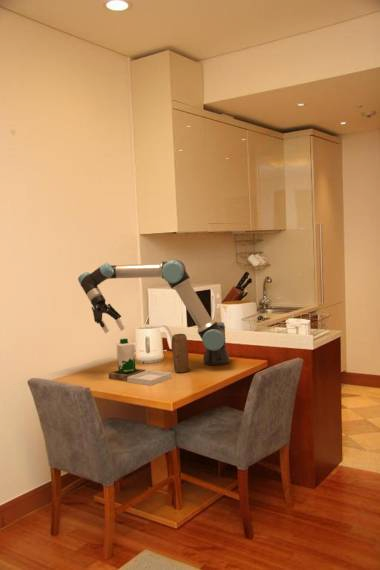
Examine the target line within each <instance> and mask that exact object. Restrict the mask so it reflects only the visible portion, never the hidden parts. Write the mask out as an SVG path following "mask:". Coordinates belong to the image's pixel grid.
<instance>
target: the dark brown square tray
mask: <svg viewBox="0 0 380 570" xmlns="http://www.w3.org/2000/svg"><path fill="white" fill-rule="evenodd" d="M135 369H136V372H135V373H132V374H129V375H125V374H119V370H118V369H117V370H115V371H111V372H108V379H109V380H114V381H122V382H128V381H127V377H129V376H132V375H135V374H138V373H141V372H144V371H147V369H142V368H137V367H135Z"/></svg>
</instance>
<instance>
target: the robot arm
mask: <svg viewBox="0 0 380 570" xmlns="http://www.w3.org/2000/svg"><path fill="white" fill-rule="evenodd" d="M139 278H141V279H142V278H143V279H144V278H161V279H163V280H165V282H167V284H168V285H169V287H170V288H171V290H175V292H176V294H178V295H177V296H178V297H179V298H180V300H181V301H182V303H183V305H184V306H185V308H186V310H187V312H188V313H189V315H190V317H191V318H192V320H193V321H194V323H195V325H196V327H197V333H198V335H199V337H200V339H201V341H202V344H203V346H204V347H205V351H204V355H203V359H202V364H204V365H205V366H222V365H228V364H229V363H230V362H231V361H230V356H229V353H228V350H227V348H226V347H227V344H226V326H225V323H224V322H223V321H222V322H221V321H220V322H219V321H218V322H217V320H214V319H212V317H211V316H210V315H209V313H208V311H207V309H206V308H205V306H204V304H203V302H202V301H201V299H200V297H199V296H198V294H197V292H196V290H194V287H193V286H192V284H191V282H190V276H189V274H188V272H187V269H186V266H185V264H184V263H183V262H182V261H180V260H178V259H171V260H168V261H161V262H160V263H146V264H145V263H142V264H141V263H140V264H137V263H136V264H114V265H112V264H110V263H108V262H106V263H103V264H102V265H100V266H98V268H96V269H95V270H94V271H92V272H91V273H90V272H88V271H86V272H83V273H82V274H80V275H79V276H78V278H77V280H78V283H79V285H80V287H81V289H83V290H82V291H83V292H84V293H85V295H86V297H87V299H88V301H90V304H91V310H92V314H93V320H94V322H95V323H96V324H99V326H100V327H101V329H102V330H103V332H104V333H105V334H107V333H108V332H109V331H110V329H109V326H107V324H106V322H105V320H104V319H103V314H106V315H108V316H110V317H112V319H114V321H115V323H116V325H117V326H118V328H119V330H120V331H123V330H124V329H126V327H125V325H124V324H123V322H122V320H121V317H122V315H121V314H120V313H119V312H118V311H117V310H116V309H115V308H114V307H113V306H112V305H111V304H110V303H108V304H106V298H105V297H104V295H103V293H102V292H101V290H100V288H99V287H98V286H99V285H101V284H102V283H103V282H105V281H106V280H110V279H111V280H112V279H139Z"/></svg>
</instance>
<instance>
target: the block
mask: <svg viewBox="0 0 380 570" xmlns="http://www.w3.org/2000/svg"><path fill="white" fill-rule="evenodd" d="M171 338H172V339H171V351H172V360H173V366H174V367H173V368H174V372H176V373H186V372H189V370H190V359H189V357H190V356H189V349H188V347H189V346H188V338H187V335H186V334H185V333H177V334H173V335H172V337H171Z"/></svg>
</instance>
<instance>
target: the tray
mask: <svg viewBox="0 0 380 570" xmlns="http://www.w3.org/2000/svg"><path fill="white" fill-rule="evenodd" d="M172 378H173V377H172V372H167V371H158V370H150V369H149V370H148V369H146V371H144V372H141V373H138V374H135V375H132V376H129V377H127V381H126V382H127V383H131V384H139V385H145V386H154V385H157V384H159V383H161V382H164V381H167V380H170V379H172Z"/></svg>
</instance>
